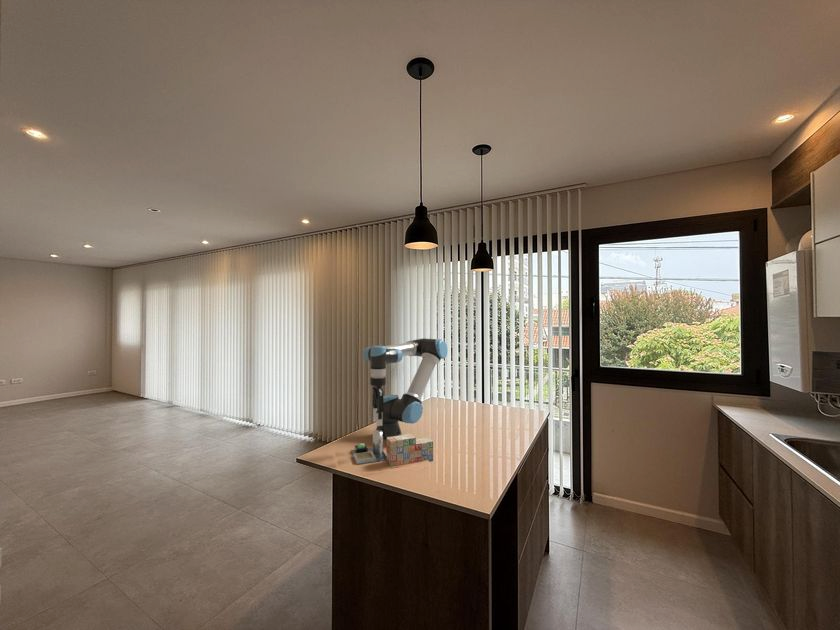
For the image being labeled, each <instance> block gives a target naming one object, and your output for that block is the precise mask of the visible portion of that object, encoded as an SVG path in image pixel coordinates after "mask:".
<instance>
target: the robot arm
mask: <svg viewBox="0 0 840 630" xmlns="http://www.w3.org/2000/svg"><path fill="white" fill-rule="evenodd" d="M446 342H447V341H445V340H444V339H440V338H425V337H424V338H417V339H413V340H412V339H411V340H407V341H406V342H404V343H398V344H397V343H396V344H390V345H389V344H388V345H372V346H370V347H369V346H368V347H366V348H364V351H363V354H362V355H363V359H364V360H365V361H369V362H370V370H369V373H370V380H369V384H370V385H371V386H372V405H371V406H372V409H373V411H372V413H373V415H372V416H373V418H372V419H373V422H374V423H376V428H375V430H382V431H383V440H386V438H387V437H393V436H399V435H402V430H401V427H400V424H399V422H402V423H405V424H410V425H412V424H416V423H417V422H419V421H420V419H421V418H422V416H423V412H424V411H423V410H424V408H423V405H422V403H423V402H422V397H423V395H424V393H425V390H426V388H427V386H428V383H429V380H430V378H431V377H432V374H433V371H434V369H435V367H436V365H438V364H440V362H441V360H443V359H446V357H447V355H448V351H449V350H448V345H447V343H446ZM406 356H409V357H421V358H422V359H421V361H420V364H418V365H419V366H418V368H417V370H416V372H415V374H414V376H413V379H412V381H411V383H410V385H409V387H408V389H407V392H405V393H403V394H402V396H401V397H399V395H398V394H389V395H388V394H387V395H384V393H385V391H384V390H383V388H382V387H383V386H386V383H387V382H386V381H387V379H386V376H387V375H386V374H387V368H386V367H387V365H388V364H396V363H400V362H402V360H403V358H404V357H406Z"/></svg>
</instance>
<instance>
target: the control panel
mask: <svg viewBox="0 0 840 630" xmlns="http://www.w3.org/2000/svg"><path fill="white" fill-rule="evenodd" d="M364 444H365V448H360V449H357V445H358V444H356V445H354V449H351V450H350V452H351V453H352V457H353V459H354V462H355V464H356V466H361V465H366V464H369V465H370V464H374V463H382V462H383V463H384V462H387V461H386V453H385V451H383V452H382V453H380V454H374V453H373V446H372V447H368V446H367V444H366V443H364Z"/></svg>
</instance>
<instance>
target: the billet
mask: <svg viewBox="0 0 840 630" xmlns="http://www.w3.org/2000/svg"><path fill="white" fill-rule="evenodd" d="M383 445H384V439H383V431H382V430H376V429H375V430H373V431H372V447H373V453H374V454H380V453H382V452H384V451H383V450H384V446H383Z"/></svg>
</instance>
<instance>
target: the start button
mask: <svg viewBox="0 0 840 630" xmlns="http://www.w3.org/2000/svg"><path fill="white" fill-rule="evenodd" d="M365 444H366V443H357V444H356V445H357V449H360V448H365Z"/></svg>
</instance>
